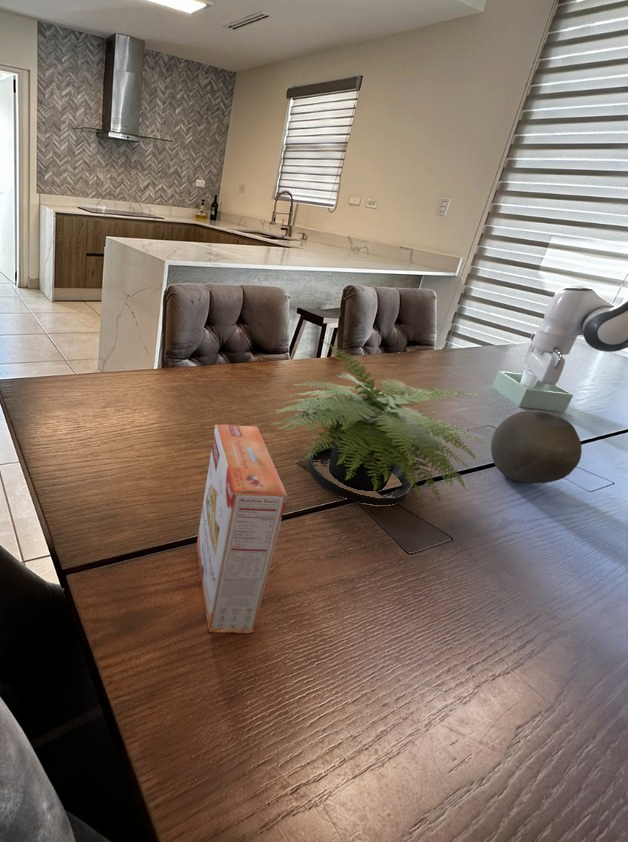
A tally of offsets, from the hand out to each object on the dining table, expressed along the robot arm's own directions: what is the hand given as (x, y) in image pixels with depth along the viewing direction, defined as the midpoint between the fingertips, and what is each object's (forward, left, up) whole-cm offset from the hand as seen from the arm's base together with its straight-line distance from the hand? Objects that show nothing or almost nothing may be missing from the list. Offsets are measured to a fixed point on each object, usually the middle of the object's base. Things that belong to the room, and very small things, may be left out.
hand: (532, 388), depth 137 cm
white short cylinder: (0, 0, -3) cm, 3 cm away
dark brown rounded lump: (+32, +46, -4) cm, 56 cm away
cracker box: (+95, +82, -4) cm, 126 cm away
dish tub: (0, 0, -4) cm, 4 cm away
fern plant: (+67, +52, -4) cm, 85 cm away
